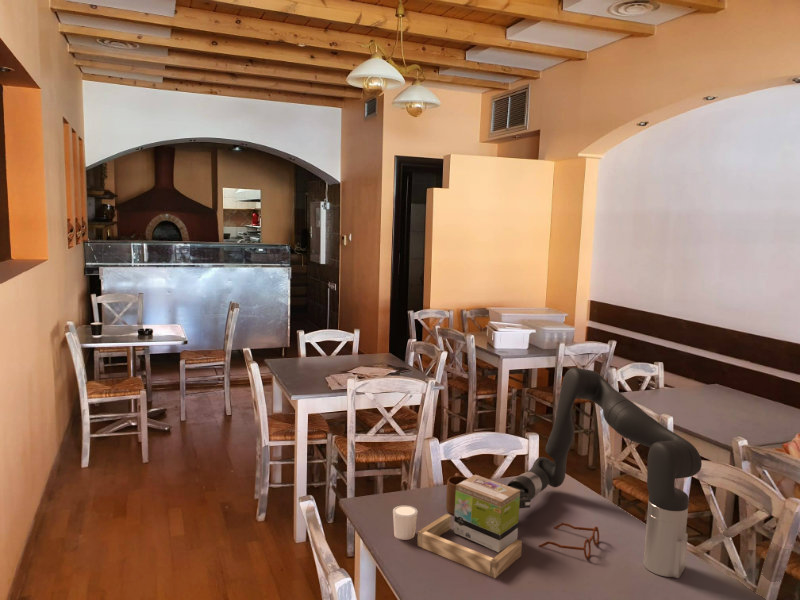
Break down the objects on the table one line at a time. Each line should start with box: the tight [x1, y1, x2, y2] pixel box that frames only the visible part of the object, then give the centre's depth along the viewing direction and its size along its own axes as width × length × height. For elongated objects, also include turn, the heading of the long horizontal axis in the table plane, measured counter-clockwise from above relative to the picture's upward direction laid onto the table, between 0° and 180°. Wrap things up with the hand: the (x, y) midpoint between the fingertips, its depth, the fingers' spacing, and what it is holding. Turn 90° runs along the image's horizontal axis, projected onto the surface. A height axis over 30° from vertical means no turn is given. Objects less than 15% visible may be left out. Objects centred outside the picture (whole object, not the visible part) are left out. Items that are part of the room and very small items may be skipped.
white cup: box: [392, 505, 419, 541], centre depth 173 cm, size 7×7×7 cm
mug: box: [445, 472, 469, 516], centre depth 191 cm, size 12×8×9 cm, turn 1°
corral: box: [416, 513, 523, 579], centre depth 166 cm, size 24×14×4 cm, turn 52°
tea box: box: [453, 474, 520, 554], centre depth 173 cm, size 15×10×15 cm, turn 50°
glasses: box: [537, 522, 600, 560], centre depth 171 cm, size 13×13×5 cm
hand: (496, 507), depth 176 cm, fingers closed
